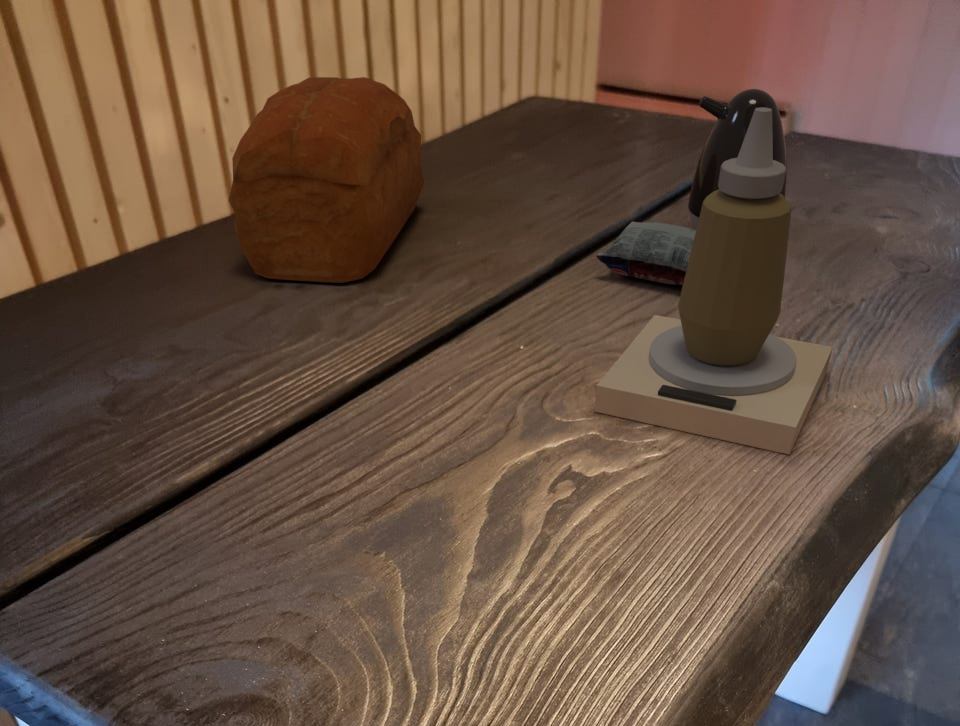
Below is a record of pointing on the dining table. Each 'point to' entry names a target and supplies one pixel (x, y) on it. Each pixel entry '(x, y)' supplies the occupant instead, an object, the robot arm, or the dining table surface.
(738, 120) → the pump dispenser
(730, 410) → the scale
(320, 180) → the bread
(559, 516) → the dining table surface
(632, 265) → the packaged food
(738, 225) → the squeeze bottle
